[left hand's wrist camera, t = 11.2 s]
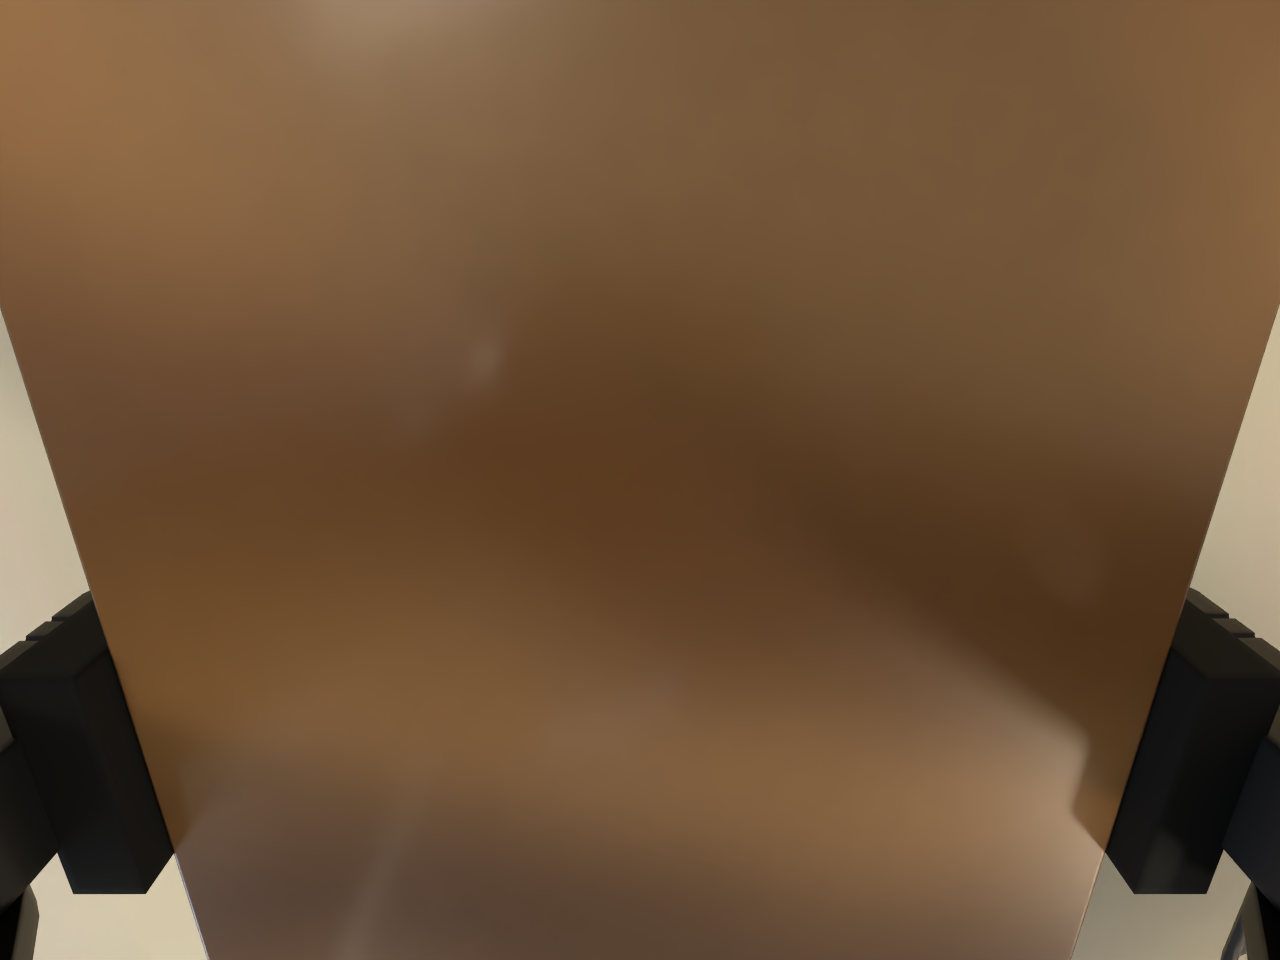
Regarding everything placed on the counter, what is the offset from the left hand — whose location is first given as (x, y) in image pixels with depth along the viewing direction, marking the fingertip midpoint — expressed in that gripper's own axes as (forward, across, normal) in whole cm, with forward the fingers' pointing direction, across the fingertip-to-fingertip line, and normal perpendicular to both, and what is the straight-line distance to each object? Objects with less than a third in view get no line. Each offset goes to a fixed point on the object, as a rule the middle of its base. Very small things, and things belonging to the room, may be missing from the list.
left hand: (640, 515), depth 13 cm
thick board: (+1, 0, -21) cm, 21 cm away
